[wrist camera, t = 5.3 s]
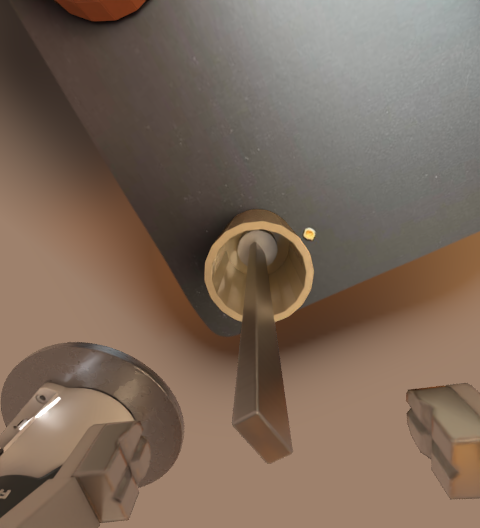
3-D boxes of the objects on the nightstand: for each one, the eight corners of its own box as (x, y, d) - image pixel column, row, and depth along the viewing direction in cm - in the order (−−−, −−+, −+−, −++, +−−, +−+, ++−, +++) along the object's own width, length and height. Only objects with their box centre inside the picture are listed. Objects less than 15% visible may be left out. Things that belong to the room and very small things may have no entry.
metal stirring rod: (252, 271, 30) (244, 514, 8) (230, 242, 30) (151, 421, 7) (284, 250, 30) (375, 459, 7) (262, 219, 29) (286, 343, 6)
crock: (249, 291, 32) (246, 342, 22) (207, 236, 30) (182, 263, 20) (307, 253, 30) (334, 289, 20) (266, 193, 29) (272, 197, 18)
